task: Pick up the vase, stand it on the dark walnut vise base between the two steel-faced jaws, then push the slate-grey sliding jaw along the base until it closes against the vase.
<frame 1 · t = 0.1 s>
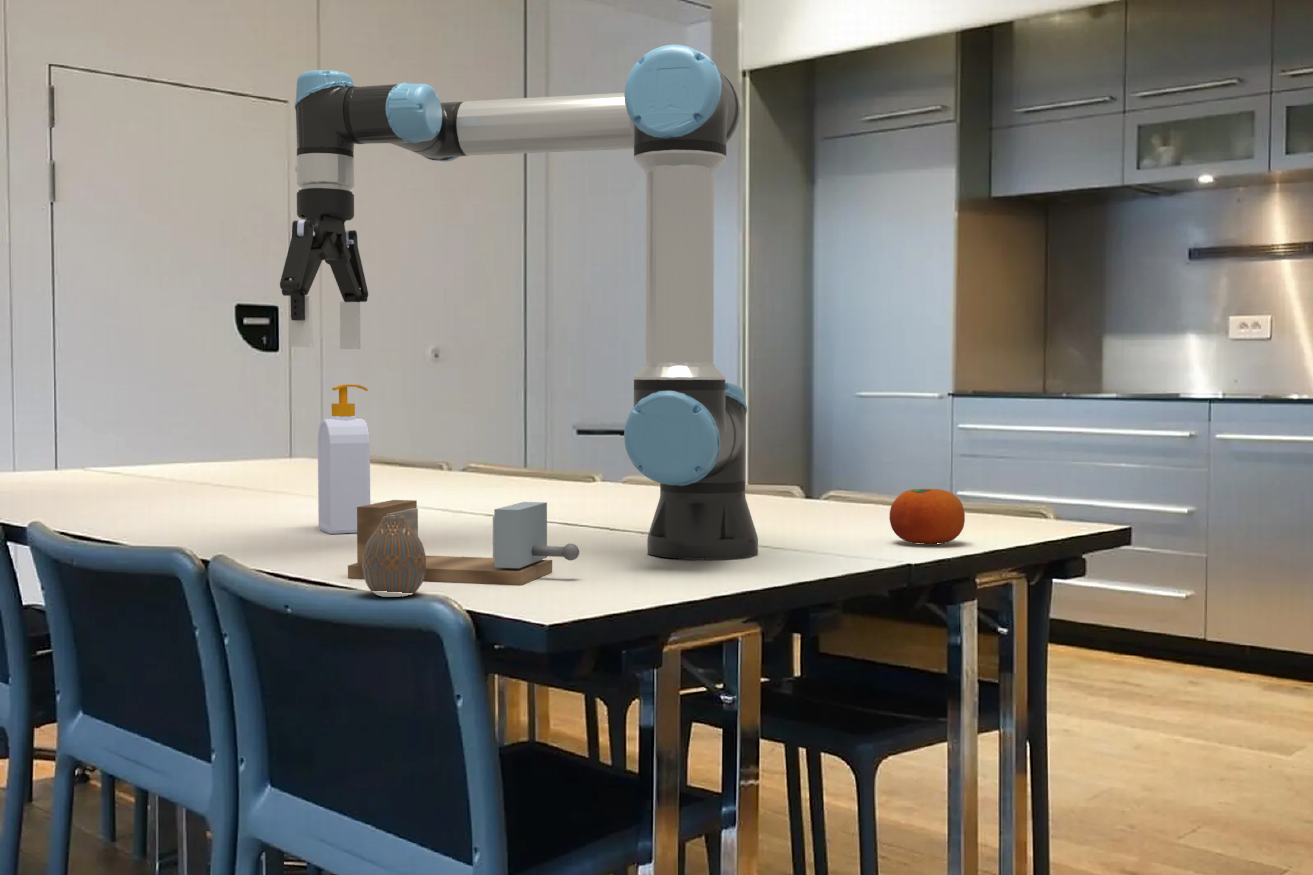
hand: (326, 348, 186), 28 cm above the table, fingers open, 13 cm apart
jaw: (541, 534, 163), point 5 cm above the table, slide at 0.0 cm
fruit: (926, 545, 199), on the table
soap bottle: (346, 532, 215), on the table
vise base: (451, 575, 167), on the table
vase: (394, 597, 151), on the table
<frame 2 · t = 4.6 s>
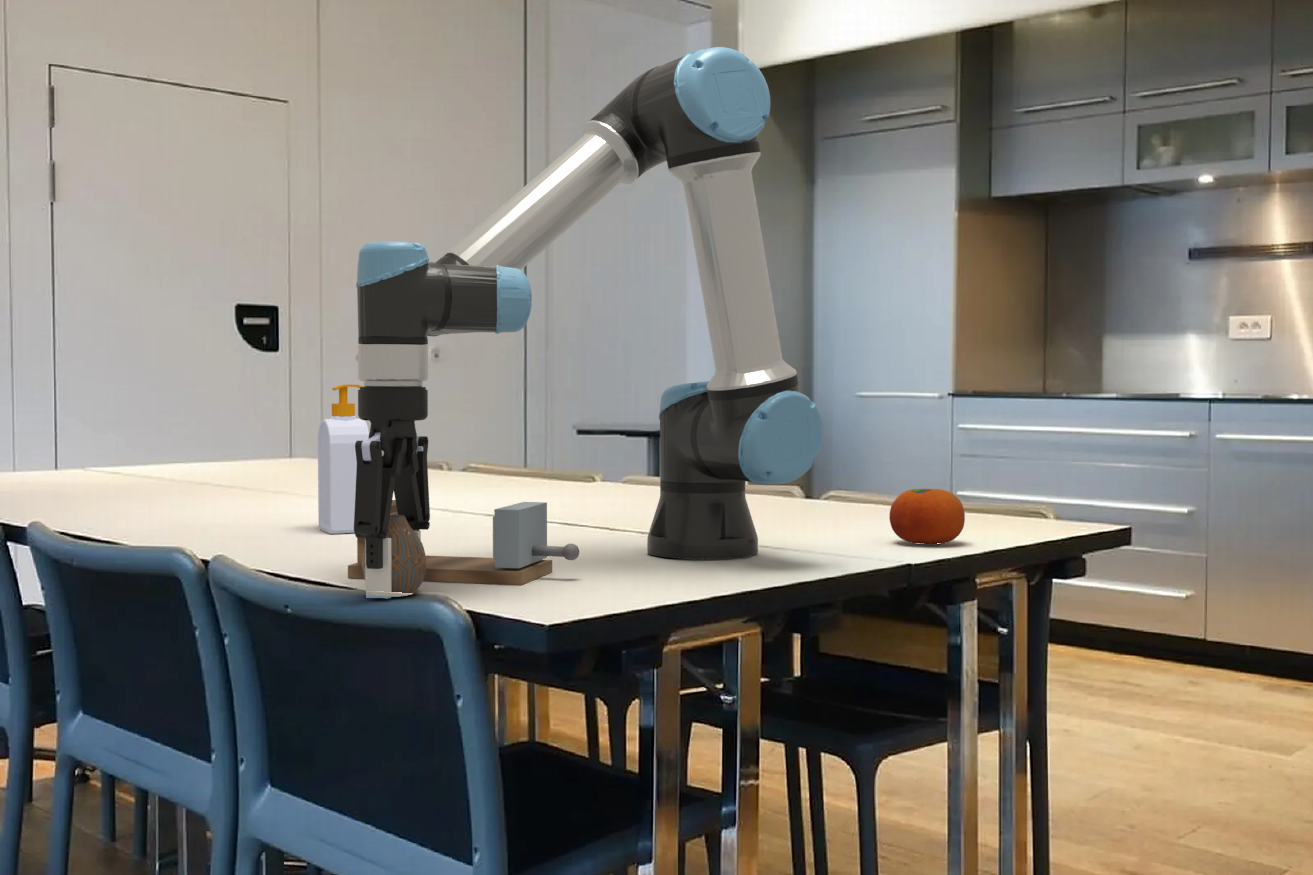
hand: (393, 592, 151), 0 cm above the table, fingers closed on vase, 7 cm apart
vase: (394, 597, 151), on the table, touching gripper
everything else where it was.
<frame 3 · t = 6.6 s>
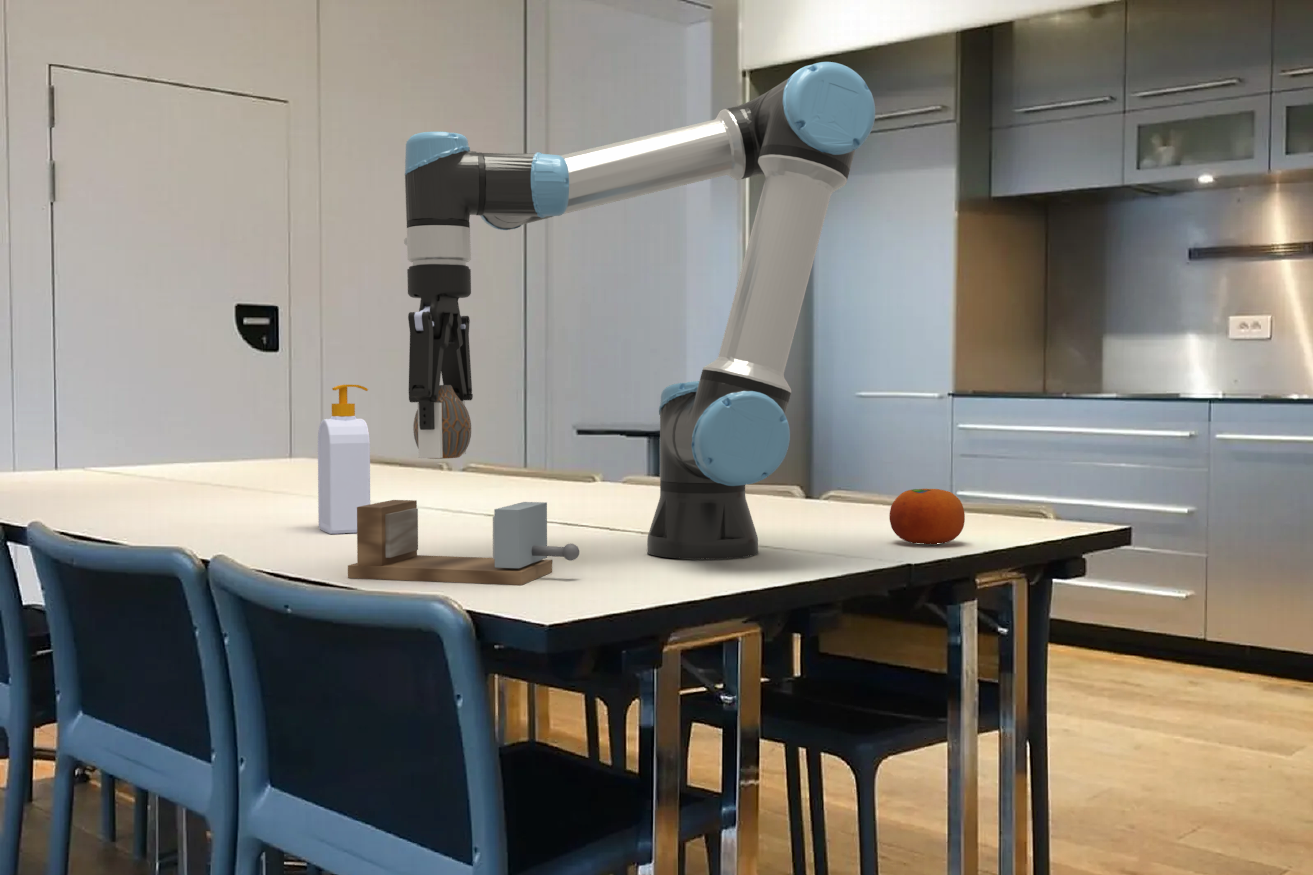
hand: (442, 455, 165), 15 cm above the table, fingers closed on vase, 7 cm apart
vase: (443, 459, 165), point 14 cm above the table, touching gripper
everything else where it was.
when the fingers open (3 cm above the table, at t = 8.9 s): vase drops 1 cm, resting on vise base.
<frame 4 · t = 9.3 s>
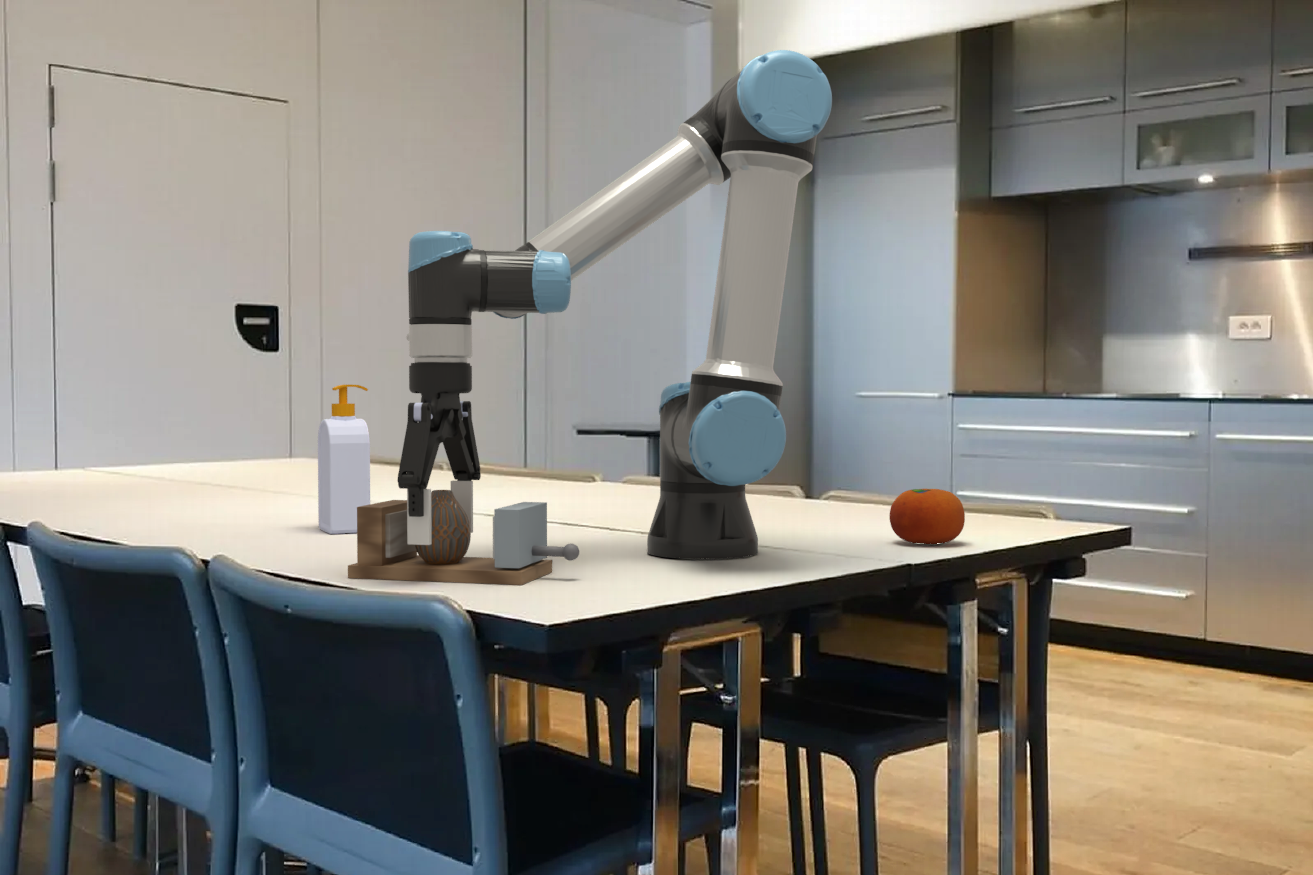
hand: (441, 538, 167), 4 cm above the table, fingers open, 12 cm apart
vase: (442, 564, 167), point 1 cm above the table, touching vise base
everything else where it was.
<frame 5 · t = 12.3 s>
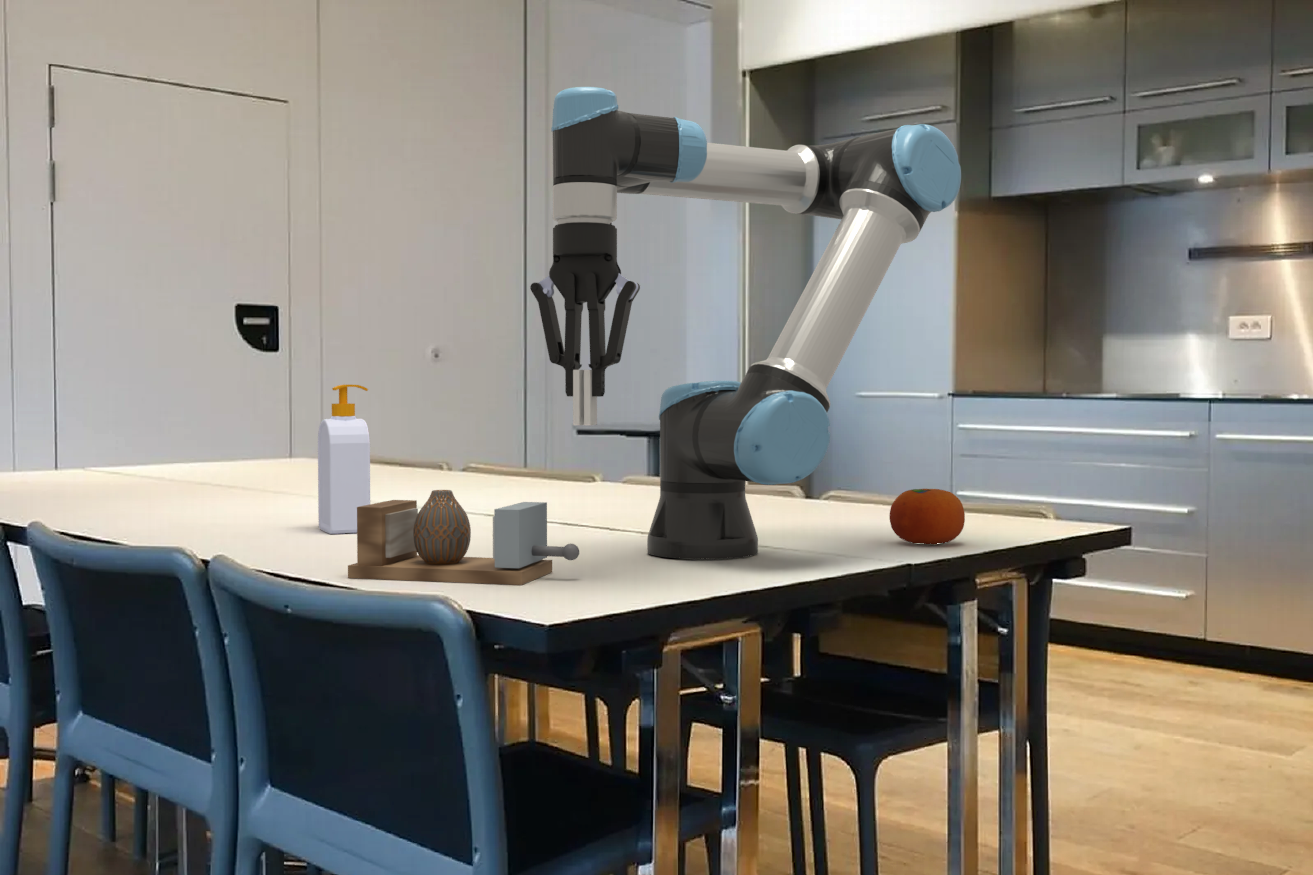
hand: (585, 424, 162), 18 cm above the table, fingers closed
nothing on the table moved.
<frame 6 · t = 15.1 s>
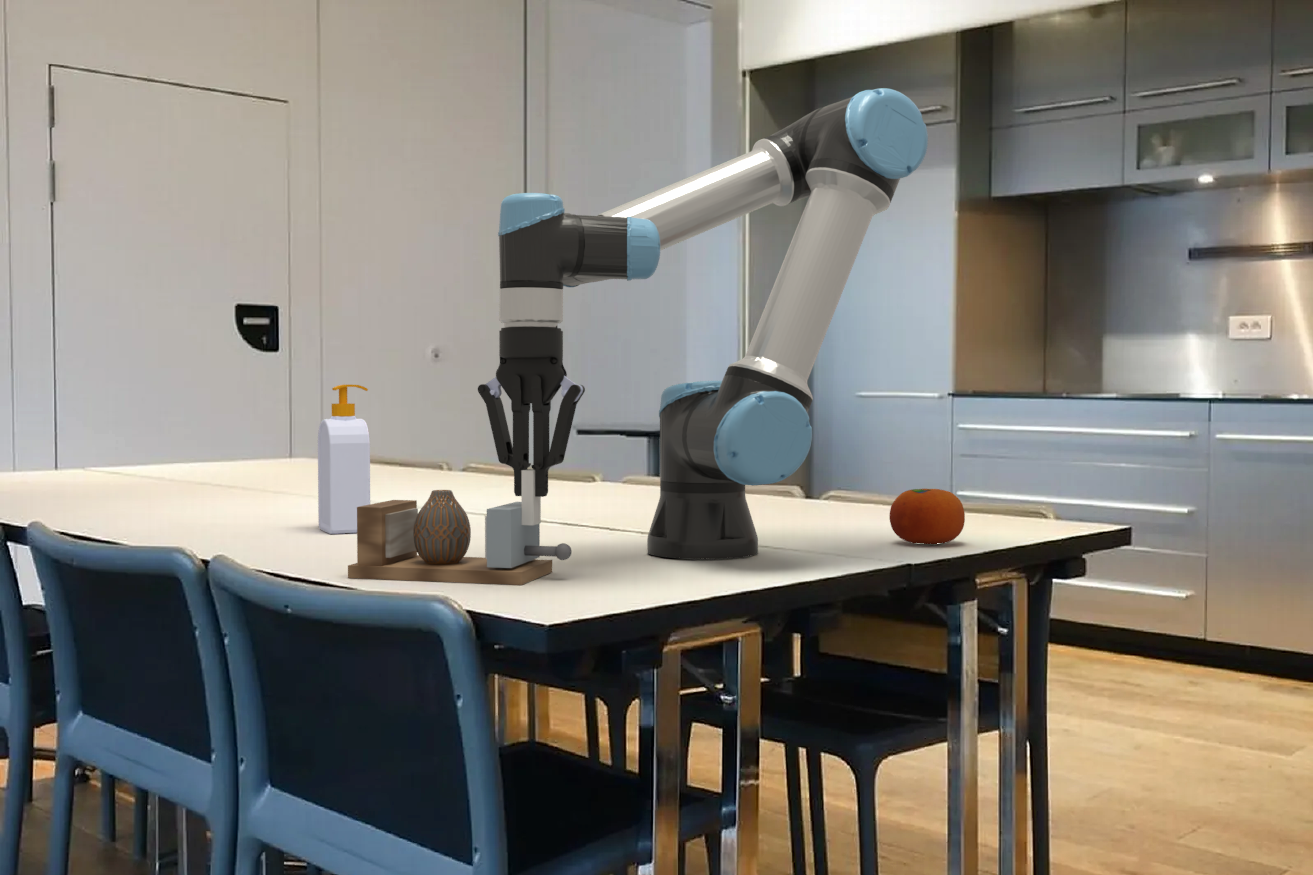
hand: (531, 524, 164), 7 cm above the table, fingers closed
jaw: (534, 534, 164), point 5 cm above the table, slide at 1.0 cm, touching gripper
everything else where it was.
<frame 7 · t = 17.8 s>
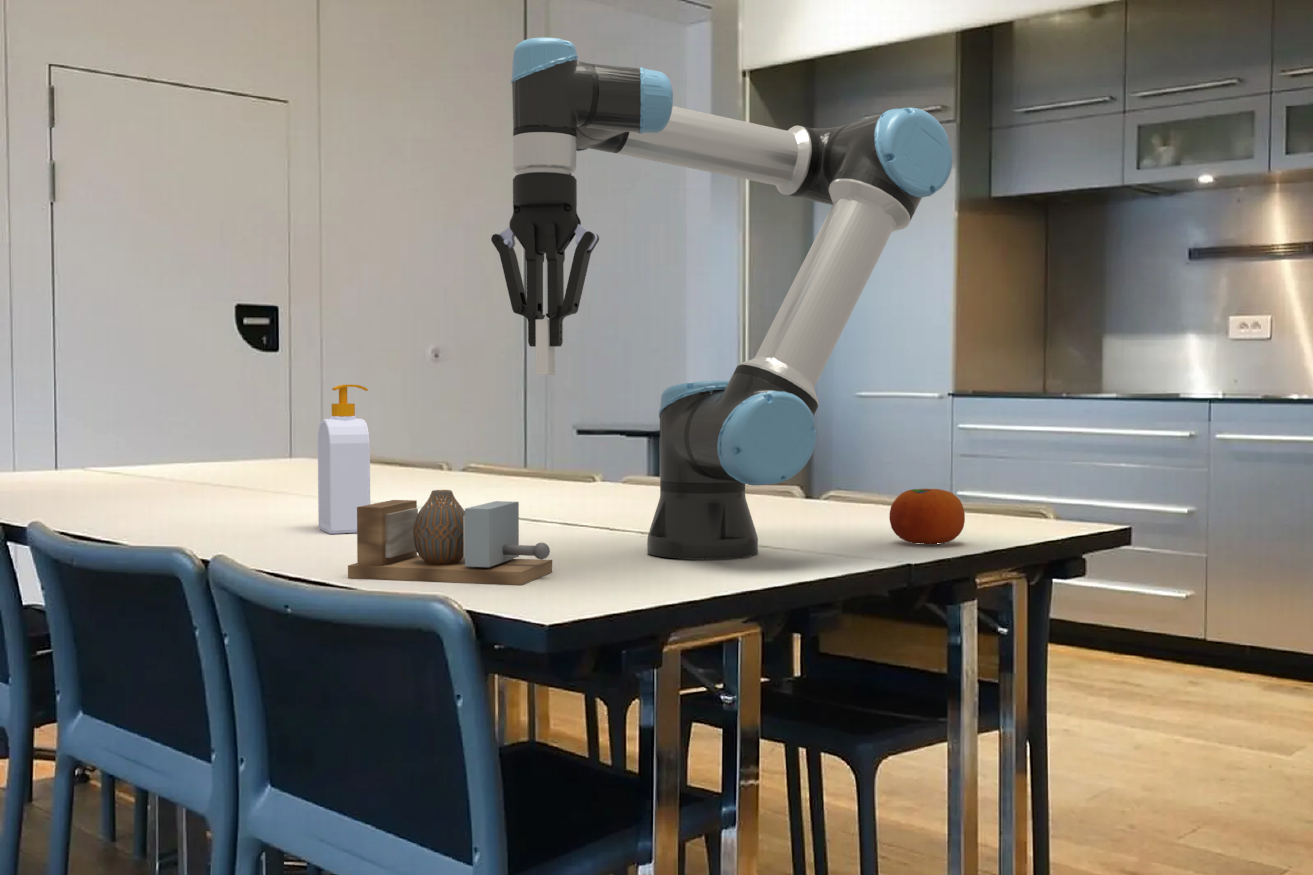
hand: (545, 374, 163), 24 cm above the table, fingers closed
jaw: (512, 533, 164), point 5 cm above the table, slide at 3.7 cm
everything else where it was.
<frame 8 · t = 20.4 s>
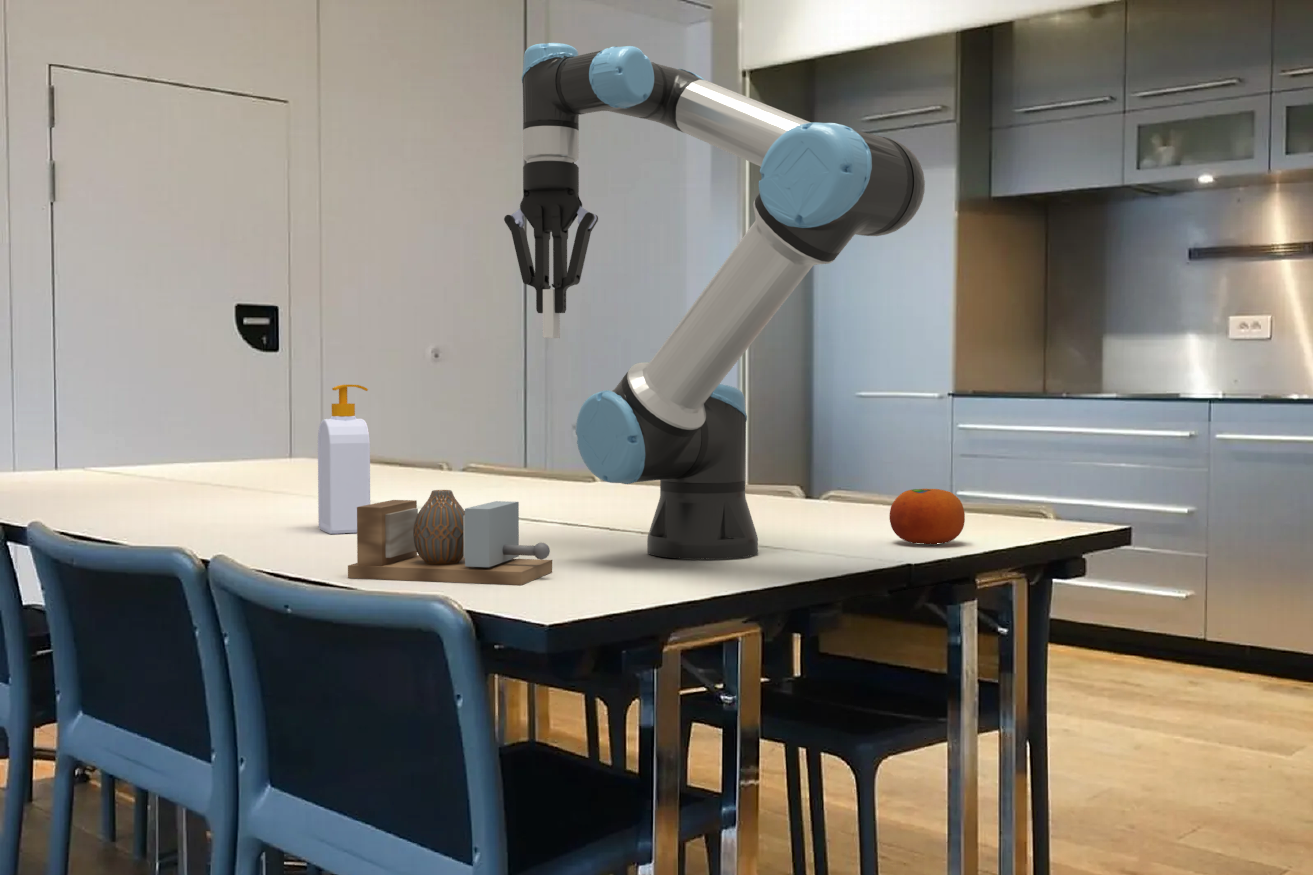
hand: (551, 337, 186), 29 cm above the table, fingers closed
nothing on the table moved.
at the end: vase inside the target area on the vise base (0.7 cm from its centre), point 1.3 cm above the vise base's base; vase tilted 0°; jaw slide at 3.7 cm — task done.
